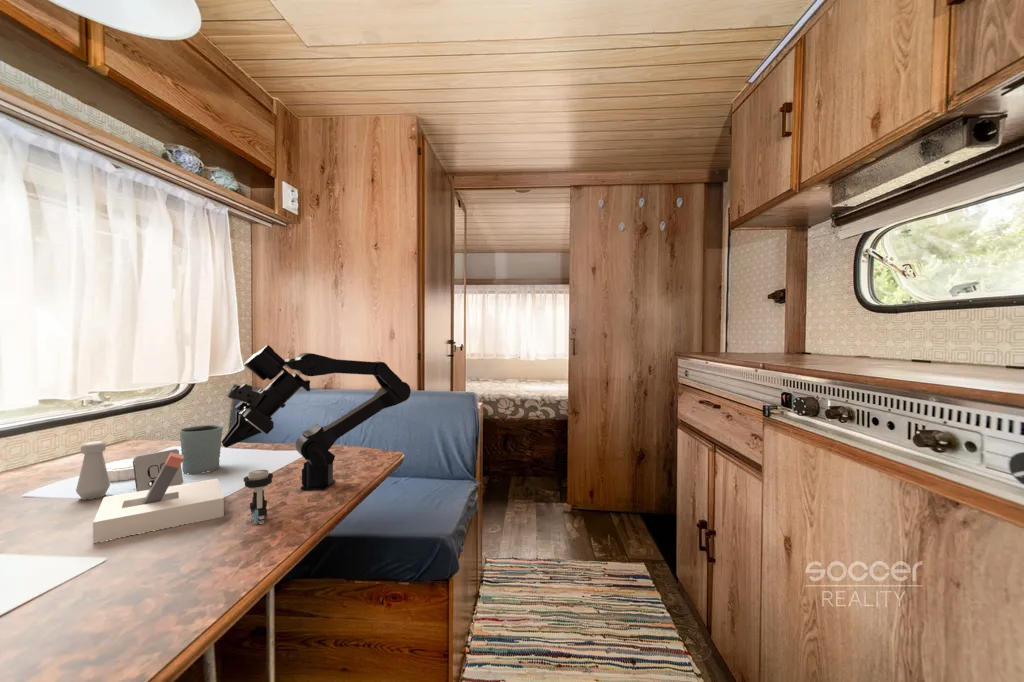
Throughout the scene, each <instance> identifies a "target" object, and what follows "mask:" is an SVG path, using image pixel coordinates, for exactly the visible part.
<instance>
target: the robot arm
mask: <svg viewBox="0 0 1024 682" xmlns="http://www.w3.org/2000/svg"><path fill="white" fill-rule="evenodd" d="M243 366H244V367H246V368H247V369H248V370H250V371H251V372H252V373H253V374H254V375H255V376H257V377H258V378H259V379H260V380H262V381H265V380H269V381H271V383H269V384H268V386H266V387H261V388H260V389H259V390H255V389H253V386H252V385H249V384H248V383H243V384H242V385H241V384H236V383H234V382H233V383H231V386H230V387H229V390H228V391H227V393H226V397H227V398H229V399H231V400H238V401H239V402H238V403H237V405H235V406H234V408H236V410H235V413H234V414H235V421H234V422H233V424H232V426H231V427H230V429H229V430H228V432H227V433H226V434H225V436H224V438H223V439H221V445H222V446H223V447H224V448H229V447H231V446H234V445H235V444H238V443H240V442H242V441H244V440H247V439H249V438H251V437H254V436H256V435H259V434H262V433H263V432H264V433H265V434H266V435H268V434H269V433H270V432H271V431H272V430H273V429H274V425H275V424H274V423H275V422H274V421H273V420H272V419H273V417H272V416H274V415H275V413H277V412H278V411H279V410H280V409H283V408H285V407H286V403H287V402H288V401H289V400H290V399H291V398H292V397H294V395H295V394H297V392H298V391H299V390H300V389H301V388H302V389H303V391H305V392H310V391H311V385H310V384H311V380H309V379H304V378H302V376H300V375H303V376H306V377H318V376H325V375H331V374H346V375H350V374H351V375H367V376H368V375H369V376H373V377H374V378H375V379H376V382H377V383H378V385H379V386H380V388H379V389H378V390H377V392H376V393H375V394H374V395H373V396H372V397H371V398H368V399H367V400H366V401H364V402H362V403H361V404H359V405H358V406H357V407H354V408H353V409H352V410H350V411H348V412H347V413H345V414H343V415H341V416H340V417H339V418H337V419H335V420H334V421H332V422H331V423H329V424H328V425H324V426H321V425H320V424H318V423H315V424H313V425H312V426H311V427H309V429H307V430H304V431H301V434H300V436H298V437H297V439H296V442H295V450H296V452H297V453H298V454H300V455H301V456H302V457H303V458H304V460H305V461H306V462H303V468H302V469H301V485H302V486H300V490H309V491H310V490H313V491H314V490H316V491H317V490H318V491H319V490H320V491H321V490H327V489H329V488H330V487H331V486H333V484H334V483H336V481H337V480H336V479H334V461H335V458H336V456H335V454H333V453H332V451H330V449H331V448H332V447H333V446H334V444H335V443H336V441H337V440H338V439H339V438H341V437H343V436H344V435H346V434H348V432H350V431H352V430H353V429H354V428H356V427H358V426H359V425H362V423H364V422H366V421H367V420H368V419H371V418H372V417H373V416H375V415H377V414H378V413H379V412H381V411H382V410H384V409H387V408H392V407H394V406H397V405H399V404H401V403H404V402H406V401H407V400H409V399H410V398H411V392H412V391H411V387H410V385H409V383H407V382H406V381H405V382H404V381H403V380H402V379H401V377H399V375H397V374H396V373H395V372H394V371H393V370H392V369H391V368H390V367H389V366H388V364H387V363H386V362H384V361H378V360H377V361H365V360H354V359H353V360H351V359H337V358H333V357H329V356H324V355H321V354H317V353H311V352H302V353H300V354H299V355H297V356H296V357H294V358H286V359H283V357H281V356H280V355H279V354H278V353H277V352H276V351H275V350H274V349H273V347H271V346H270V345H265V346H264V347H263V348H261V349H260V350H258V351H257V352H256V353H253V354H252V355H251V356H250V357H249V358H248V359H247V360H245V362H244V363H243ZM287 369H290V370H293V371H296V372H294V373H291V372H289V371H288V370H287ZM299 374H300V375H299ZM273 379H274V380H273ZM237 410H238V411H239V412H238V411H237Z"/></svg>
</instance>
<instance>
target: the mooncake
mask: <svg viewBox="0 0 1024 682" xmlns="http://www.w3.org/2000/svg"><path fill="white" fill-rule="evenodd" d="M133 459H134V458H128V459H121V460H116V461H111V462H107V463H105V465H106V469H107V473H108V477H109V481H110V482H119V480H120V481H121V480H123V481H127V480H128V481H129V480H135V479H134V478H135V476H134V469H133Z"/></svg>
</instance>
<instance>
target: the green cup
mask: <svg viewBox="0 0 1024 682" xmlns="http://www.w3.org/2000/svg"><path fill="white" fill-rule="evenodd" d="M223 429H224V427H223V425H218V424H217V425H216V424H215V425H214V424H213V425H212V424H210V425H209V424H208V425H207V424H205V425H198V426H197V425H196V426H190V427H185V428H184V427H183V428H181V429H180V430H179V438H180V439H179V442H180V448H181V449H180V451H181V453H180V455H183V458H184V459H183V461H182V463H181V469H182V473H183V472H184V473H183V474H185V473H189V474H188V475H196V474H195V473H199V474H203V473H202V472H206V473H208V472H207V471H210V472H212V470H213V471H216V470H218V469H219V467H220V461H221V460H220V457H221V449H222V448H221V446H222V436H223ZM217 468H218V469H217ZM215 469H216V470H215Z"/></svg>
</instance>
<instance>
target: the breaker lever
mask: <svg viewBox="0 0 1024 682" xmlns="http://www.w3.org/2000/svg"><path fill="white" fill-rule="evenodd" d="M183 459H184V458H183V455H182V454H181V453H179V454H176V453H172V452H171V453H170V454H169V456H168V458H167V460H166V462H165V463H164V465H163V467H162V469H161V471H160V472H159V474H158V476H157V478H156V480H155V481H154V483H153V485H152V487H151V489H150V490H149V492H148V494H147V496H146V498H145V499H144V501H143V503H142V505H144V504H149V503H155V502H160V501H161V500H162V498H163V496H164V494H165V492H166V490H167V489H168V487H169V485H170V483H171V481H172V479H173V478H174V476H175V474H176V472H177V470H178V468H179V467H180V465H181V466H182V461H183Z"/></svg>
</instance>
